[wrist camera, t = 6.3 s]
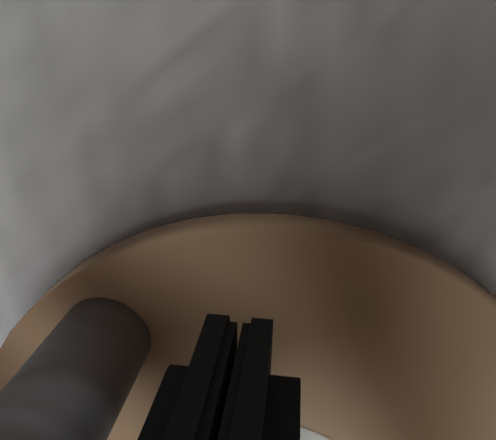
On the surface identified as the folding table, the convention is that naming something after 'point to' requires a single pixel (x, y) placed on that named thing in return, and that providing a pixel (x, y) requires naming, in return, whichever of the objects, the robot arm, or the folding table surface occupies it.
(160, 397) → the robot arm
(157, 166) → the folding table surface
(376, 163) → the folding table surface
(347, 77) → the folding table surface
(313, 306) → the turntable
